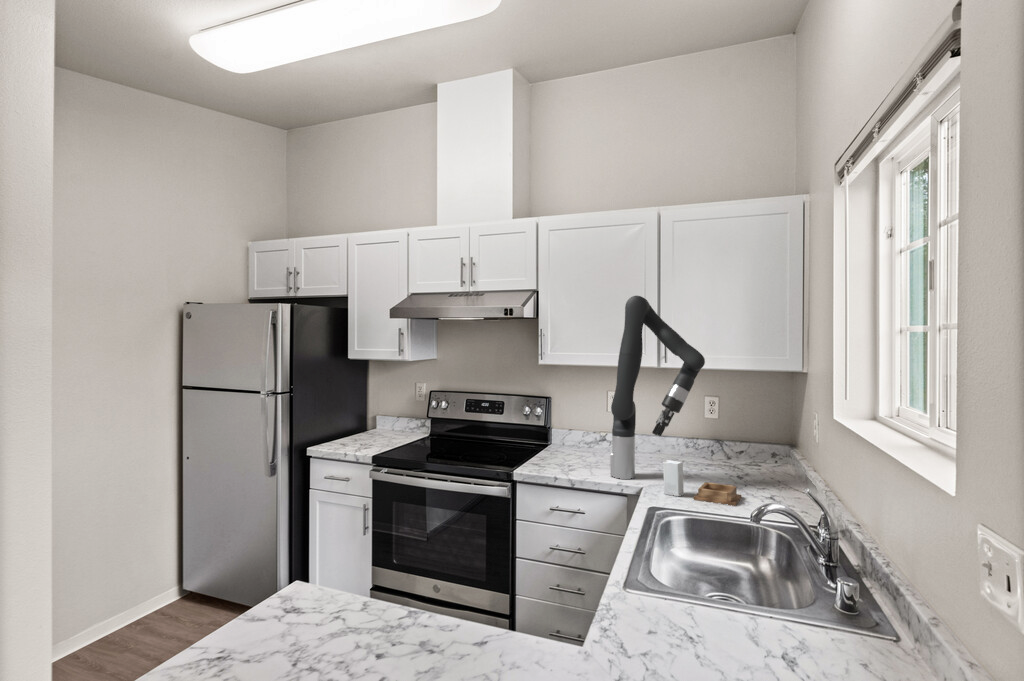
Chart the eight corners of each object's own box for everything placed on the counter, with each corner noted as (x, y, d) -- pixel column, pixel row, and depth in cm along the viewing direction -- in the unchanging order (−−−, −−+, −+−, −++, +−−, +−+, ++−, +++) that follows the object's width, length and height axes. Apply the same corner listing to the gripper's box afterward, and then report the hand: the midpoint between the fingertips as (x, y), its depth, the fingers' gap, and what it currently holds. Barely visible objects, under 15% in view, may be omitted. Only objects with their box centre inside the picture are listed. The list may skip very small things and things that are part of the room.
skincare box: (684, 494, 203) (684, 461, 203) (678, 497, 200) (678, 464, 200) (668, 491, 207) (668, 459, 207) (662, 494, 204) (662, 461, 204)
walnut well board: (693, 499, 197) (693, 488, 197) (701, 491, 207) (701, 481, 207) (735, 506, 189) (735, 494, 189) (741, 497, 199) (741, 486, 199)
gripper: (663, 394, 226) (644, 429, 224) (670, 393, 212) (650, 430, 210) (680, 403, 225) (661, 438, 223) (688, 402, 210) (668, 440, 209)
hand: (656, 434), depth 217 cm, fingers open, 8 cm apart
